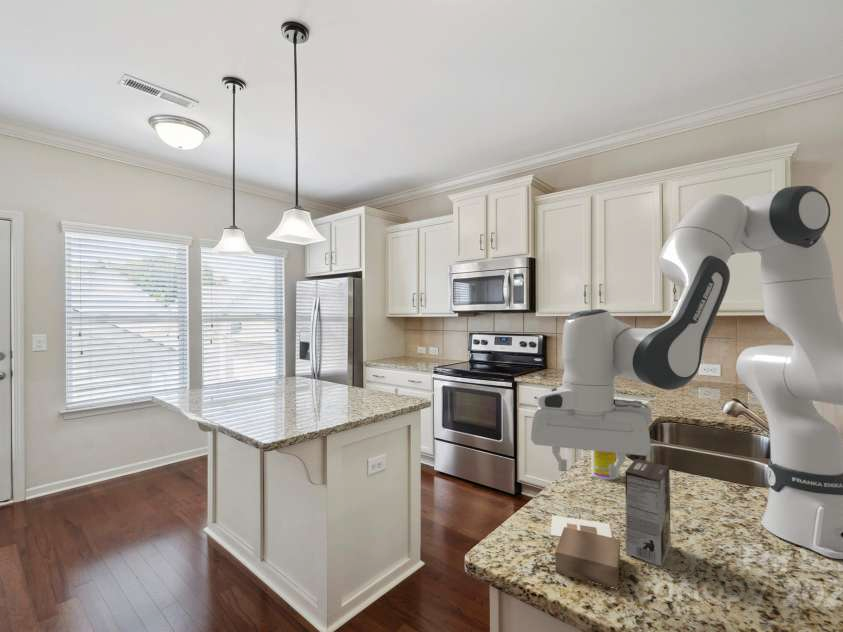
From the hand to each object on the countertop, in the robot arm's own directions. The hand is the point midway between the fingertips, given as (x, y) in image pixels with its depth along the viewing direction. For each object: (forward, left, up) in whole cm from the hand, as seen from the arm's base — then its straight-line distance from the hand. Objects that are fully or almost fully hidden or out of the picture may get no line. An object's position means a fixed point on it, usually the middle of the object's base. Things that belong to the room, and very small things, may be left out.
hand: (587, 473), depth 76 cm
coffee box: (-11, -9, -17) cm, 22 cm away
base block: (0, 0, -17) cm, 17 cm away
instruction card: (+1, -13, -17) cm, 21 cm away
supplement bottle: (-6, -47, -17) cm, 50 cm away
